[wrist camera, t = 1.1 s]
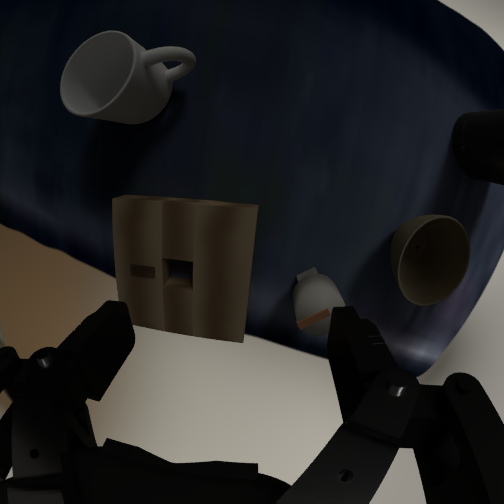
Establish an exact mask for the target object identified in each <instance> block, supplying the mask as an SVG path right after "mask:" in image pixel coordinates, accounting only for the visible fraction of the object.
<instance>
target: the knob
mask: <svg viewBox="0 0 504 504" xmlns="http://www.w3.org/2000/svg"><path fill="white" fill-rule="evenodd" d="M297 280H298V283H297V284H296V286H295V288H294V290H293V303H294V309H295V315H296V321H297V325H298V327H299V328H300V329H302V330H303V331H304V332H306V333H308V334H312V335H324V334H327V333H329V328H330V320H331V313H332V309H333V307H344V306H345V303H344V301H343V299H342V297H341V295H340V293H339V291H338V289H337V287H336V285H335V284H334V282H333V281H332V280H331V279H330V278H329V277H327V276H325V275H321V274H318V272H317V270H316V268H315V267H313V268H311V269H309V270H307V271H305V272H303V273H301V274H299V275H297Z"/></svg>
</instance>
